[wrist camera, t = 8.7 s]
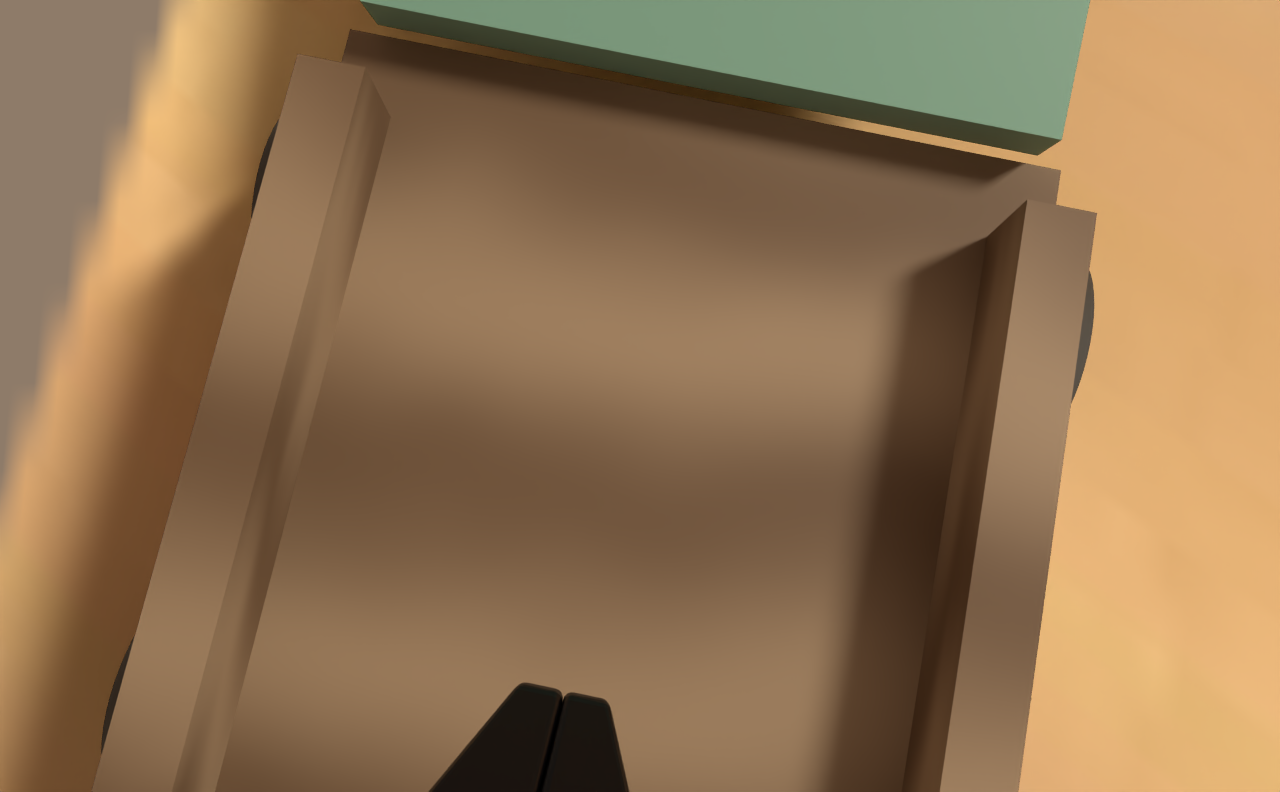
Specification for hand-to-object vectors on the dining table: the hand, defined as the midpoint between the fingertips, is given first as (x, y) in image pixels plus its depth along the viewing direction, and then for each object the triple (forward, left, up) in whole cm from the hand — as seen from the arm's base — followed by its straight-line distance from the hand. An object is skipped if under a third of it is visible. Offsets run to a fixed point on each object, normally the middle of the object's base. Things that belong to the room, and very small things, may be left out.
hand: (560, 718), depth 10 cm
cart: (+2, -1, -13) cm, 13 cm away
